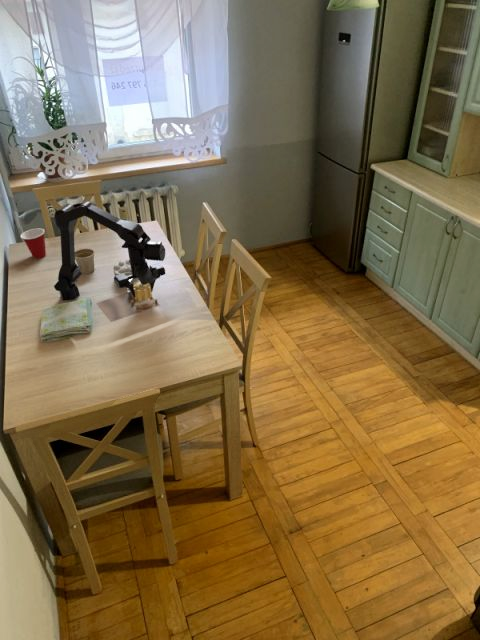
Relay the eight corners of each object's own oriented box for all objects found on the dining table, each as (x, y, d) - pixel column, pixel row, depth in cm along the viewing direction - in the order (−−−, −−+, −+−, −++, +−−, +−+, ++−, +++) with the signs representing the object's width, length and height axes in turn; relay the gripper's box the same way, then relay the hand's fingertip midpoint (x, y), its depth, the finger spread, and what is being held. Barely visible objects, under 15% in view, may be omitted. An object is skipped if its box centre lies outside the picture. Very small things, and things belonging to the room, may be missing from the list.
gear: (132, 301, 184) (130, 293, 181) (125, 294, 188) (124, 286, 186) (147, 296, 187) (146, 288, 185) (140, 289, 191) (139, 281, 189)
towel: (40, 345, 164) (36, 333, 161) (45, 313, 181) (41, 302, 178) (93, 336, 167) (91, 325, 164) (93, 306, 184) (91, 295, 181)
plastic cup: (26, 253, 223) (18, 230, 217) (49, 249, 227) (43, 226, 220) (27, 263, 215) (20, 239, 208) (52, 258, 219) (45, 234, 212)
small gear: (139, 292, 190) (138, 285, 189) (131, 288, 192) (131, 282, 191) (147, 288, 193) (147, 282, 192) (139, 285, 195) (139, 279, 194)
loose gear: (138, 303, 177) (136, 290, 173) (131, 295, 181) (129, 283, 178) (154, 297, 180) (153, 285, 176) (147, 290, 184) (145, 278, 181)
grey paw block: (117, 290, 193) (114, 272, 188) (114, 276, 203) (111, 258, 199) (142, 286, 196) (139, 268, 191) (138, 272, 206) (135, 254, 201)
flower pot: (95, 275, 204) (91, 257, 199) (73, 275, 204) (69, 258, 200) (100, 265, 212) (97, 248, 207) (80, 265, 212) (76, 248, 207)
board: (111, 324, 173) (110, 318, 171) (96, 305, 184) (95, 300, 182) (160, 307, 182) (159, 301, 180) (143, 290, 193) (142, 285, 191)
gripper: (121, 273, 161) (128, 311, 170) (170, 259, 170) (174, 295, 179) (110, 261, 169) (117, 298, 178) (156, 248, 177) (161, 284, 186)
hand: (142, 294), depth 180 cm, fingers closed on loose gear, 7 cm apart
